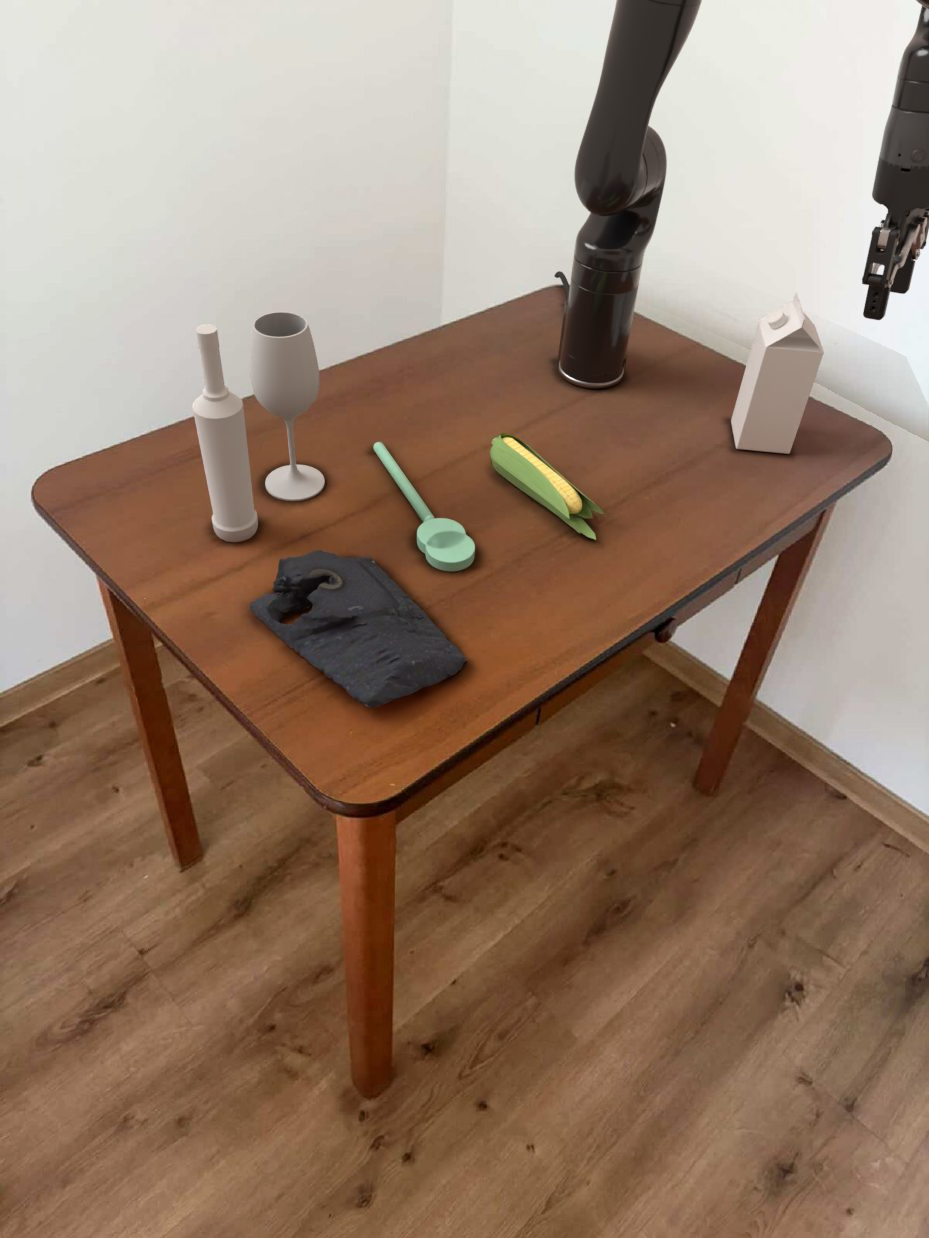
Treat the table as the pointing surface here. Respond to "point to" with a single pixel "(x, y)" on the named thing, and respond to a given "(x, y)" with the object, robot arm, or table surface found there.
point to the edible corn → (541, 482)
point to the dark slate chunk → (357, 627)
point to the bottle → (223, 446)
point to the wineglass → (286, 391)
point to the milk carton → (777, 380)
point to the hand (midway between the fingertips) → (885, 304)
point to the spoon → (432, 525)
